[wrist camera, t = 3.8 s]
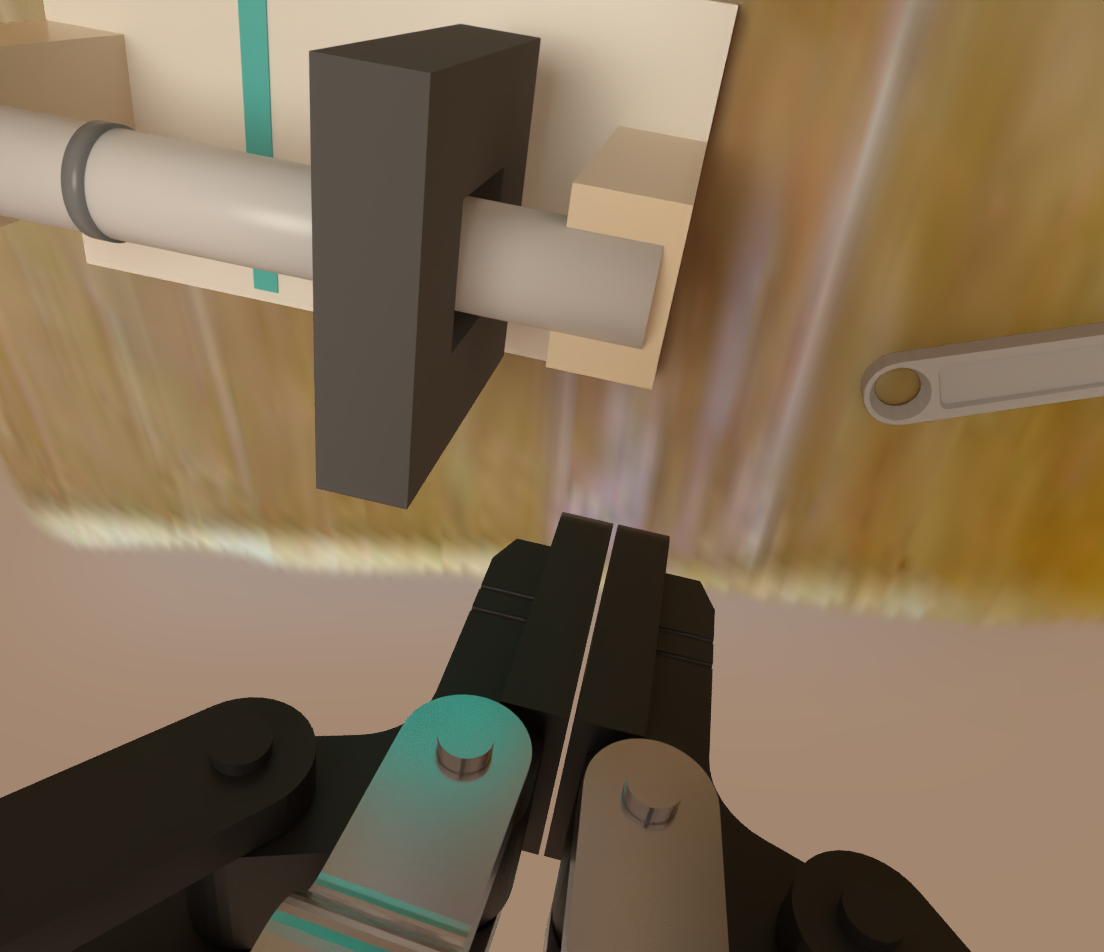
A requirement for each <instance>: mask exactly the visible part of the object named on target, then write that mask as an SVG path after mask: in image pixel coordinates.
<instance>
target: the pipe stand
mask: <svg viewBox="0 0 1104 952" xmlns="http://www.w3.org/2000/svg"><path fill="white" fill-rule="evenodd" d="M43 2H44V8H45V14H46V20H39V21H24V22H10V23H0V226H3V225H6V224H9V223H12V222H15V221H18V220H25V221H30V222H34V223H39V224H44V225H49V226H54V227H58V228H63V229H68V230H73V231H77V232H82V236H83V242H84V248H85V254H86V260H87V263H88V264H93V265H98V266H102V267H107V268H112V269H116V270H121V271H126V272H130V273H135V274H140V275H145V276H149V277H154V278H159V279H163V280H168V281H173V282H177V283H182V284H187V285H191V286H196V287H201V288H206V289H210V290H215V291H220V292H224V293H229V294H234V295H238V296H243V297H248V298H252V299H257V300H262V301H267V302H271V303H276V304H281V305H285V306H290V307H295V308H299V309H304V310H309V311H313V265H312V206H311V147H310V89H309V51H311V50H316V49H322V48H328V47H333V46H339V45H344V44H350V43H356V42H361V41H367V40H372V39H378V38H384V37H389V36H395V35H400V34H406V33H411V32H417V31H423V30H428V29H434V28H439V27H445V26H451V25H456V24H465V25H471V26H476V27H482V28H488V29H493V30H499V31H505V32H510V33H516V34H522V35H527V36H533V37H539V38H541V42H540V51H539V59H538V68H537V76H536V85H535V93H534V102H533V110H532V119H531V128H530V136H529V145H528V153H527V162H526V170H525V179H524V187H523V196H522V204H521V206H516V205H511V204H506V203H501V202H496V201H491V200H486V199H481V198H476V197H471V196H467V197H466V198H465V199H463V211H462V223H461V236H460V249H459V261H458V274H457V286H456V299H455V311H459V312H464V313H469V314H474V315H478V316H483V317H488V318H493V319H498V320H502V321H507V322H508V324H507V333H506V341H505V350H504V352H506V353H511V354H515V355H520V356H525V357H529V358H534V359H539V360H543V361H546V367H548V368H553V369H558V370H562V371H567V372H572V373H576V374H581V375H586V376H590V377H595V378H600V379H605V380H609V381H614V382H619V383H623V384H628V385H633V386H637V387H642V388H647V389H651V390H652V386H653V382H654V378H655V373H656V369H657V364H658V360H659V356H660V351H661V347H662V342H663V338H664V334H665V329H666V325H667V320H668V316H669V312H670V307H671V303H672V298H673V294H674V290H675V285H676V281H677V276H678V272H679V268H680V263H681V259H682V254H683V250H684V246H685V241H686V237H687V232H688V228H689V224H690V219H691V215H692V210H693V206H694V201H695V197H696V192H697V188H698V183H699V178H700V174H701V169H702V165H703V160H704V156H705V151H706V146H707V142H708V137H709V133H710V129H711V124H712V120H713V115H714V111H715V107H716V102H717V98H718V93H719V89H720V84H721V80H722V76H723V71H724V67H725V62H726V58H727V54H728V49H729V45H730V40H731V36H732V32H733V27H734V23H735V18H736V14H737V10H738V5H739V4H736V3H730V2H724V1H719V0H43Z"/></svg>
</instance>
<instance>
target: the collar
mask: <svg viewBox="0 0 1104 952" xmlns="http://www.w3.org/2000/svg"><path fill="white" fill-rule="evenodd" d="M540 42H541V38H539V37H533V36H527V35H522V34H516V33H510V32H505V31H499V30H493V29H488V28H482V27H476V26H471V25H465V24H456V25H451V26H445V27H439V28H434V29H428V30H423V31H417V32H411V33H406V34H400V35H395V36H389V37H384V38H378V39H372V40H367V41H361V42H356V43H350V44H344V45H339V46H333V47H328V48H322V49H316V50H311V51H309V89H310V147H311V206H312V265H313V323H314V382H315V441H316V488H317V489H321V490H326V491H330V492H334V493H339V494H343V495H347V496H351V497H356V498H360V499H364V500H369V501H373V502H377V503H381V504H386V505H390V506H394V507H399V508H403V509H408V507H409V505H410V504H411V502H412V501H413V499H414V497H415V496H416V494H417V493H418V491H419V489H420V488H421V486H422V485H423V483H424V482H425V480H426V478H427V477H428V475H429V474H430V472H431V470H432V469H433V467H434V466H435V464H436V462H437V461H438V459H439V458H440V456H441V454H442V453H443V451H444V450H445V448H446V447H447V445H448V443H449V442H450V440H451V439H452V437H453V435H454V434H455V432H456V431H457V429H458V427H459V426H460V424H461V423H462V421H463V419H464V418H465V416H466V415H467V413H468V412H469V410H470V408H471V407H472V405H473V404H474V402H475V400H476V399H477V397H478V396H479V394H480V392H481V391H482V389H483V388H484V386H485V385H486V383H487V381H488V380H489V378H490V377H491V375H492V373H493V372H494V370H495V369H496V367H497V365H498V364H499V362H500V361H501V359H502V357H503V356H504V350H505V341H506V333H507V324H508V322H507V321H502V320H498V319H493V318H488V317H483V316H478V315H474V314H469V313H464V312H459V311H455V299H456V286H457V274H458V261H459V249H460V236H461V223H462V211H463V199H465V198H466V197H467V196H471V197H476V198H481V199H486V200H491V201H496V202H501V203H506V204H511V205H516V206H521V204H522V196H523V187H524V179H525V170H526V162H527V153H528V145H529V136H530V128H531V119H532V110H533V102H534V93H535V85H536V76H537V68H538V59H539V51H540Z"/></svg>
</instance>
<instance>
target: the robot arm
mask: <svg viewBox="0 0 1104 952" xmlns="http://www.w3.org/2000/svg"><path fill="white" fill-rule="evenodd" d="M612 528H613V523H608V522H604V521H600V520H595V519H591V518H587V517H582V516H578V515H574V514H569V513H565V512H563V513H562V515H561V517H560V520H559V523H558V526H557V530H556V533H555V536H554V539H553V542H552V545H551V547H550V546H546V545H542V544H538V543H533V542H529V541H525V540H521V539H516V540H515V541H513V542H512V543H511V544H510V545H508V546H507V547H506V548H504V549H503V550H502V551H501V552H499V553H498V554H497V555H496V556H494V557H493V558H492V561H491V563H490V565H489V568H488V570H487V572H486V575H485V577H484V580H483V582H482V585H481V589H479V591H478V594H477V596H476V599H475V601H474V603H473V607H472V610H471V611H470V613H469V615H468V617H467V620H466V622H465V625H464V627H463V629H462V632H461V634H460V636H459V639H458V641H457V644H456V646H455V648H454V651H453V653H452V655H451V658H450V660H449V662H448V665H447V667H446V670H445V672H444V675H443V677H442V679H441V682H440V684H439V686H438V689H437V691H436V693H435V695H434V697H433V699H432V700H431V701H430V702H428V703H426V704H424V705H422V706H421V707H420V708H418V709H417V710H415V711H414V712H413V713H412V714H411V715H410V716H409V717H408V718H407V720H406V721H405V723H404V724H402V725H400V726H398V727H396V728H393V729H390V730H387V731H384V732H379V733H374V734H365V735H344V736H315V735H314V732H313V728H312V727H311V725H310V723H309V721H308V720H307V719H306V718H305V717H304V716H303V715H302V713H300V712H299V711H298V710H296V709H295V708H294V707H292V706H290V705H287V704H285V703H283V702H280V701H276V700H273V699H267V698H251V697H249V698H240V699H234V700H230V701H226V702H222V703H220V704H217V705H214V706H212V707H209V708H207V709H205V710H202V711H200V712H198V713H196V714H193V715H191V716H189V717H186V718H184V719H182V720H179V721H177V722H175V723H172V724H170V725H168V726H166V727H163V728H161V729H159V730H156V731H154V732H152V733H149V734H147V735H145V736H142V737H140V738H138V739H136V740H133V741H131V742H129V743H126V744H124V745H122V746H119V747H117V748H115V749H112V750H110V751H108V752H106V753H103V754H101V755H99V756H96V757H94V758H92V759H89V760H87V761H85V762H83V763H80V764H78V765H75V766H73V767H71V768H69V769H66V770H64V771H62V772H59V773H57V774H55V775H53V776H50V777H48V778H46V779H43V780H41V781H39V782H36V783H34V784H32V785H30V786H27V787H25V788H22V789H20V790H18V791H16V792H13V793H11V794H9V795H7V796H4V797H2V798H0V952H488V951H489V948H490V946H491V943H492V940H493V936H494V933H495V930H496V928H497V925H498V921H499V919H500V915H501V911H502V908H503V907H504V905H505V904H506V902H507V900H508V898H509V896H510V893H511V890H512V887H513V883H514V879H515V874H516V870H517V866H518V862H519V858H520V854H521V850H523V851H527V852H530V853H534V854H539V849H540V845H541V841H542V836H543V831H544V827H545V822H546V819H547V814H548V810H549V805H550V801H551V797H552V792H553V788H554V783H555V779H556V775H557V770H558V766H559V761H560V757H561V752H562V748H563V743H564V740H565V735H566V730H567V726H568V722H569V718H570V713H571V709H572V704H573V700H574V695H575V691H576V687H577V683H578V678H579V674H580V669H581V665H582V661H583V656H584V652H585V647H586V643H587V639H588V634H589V630H590V625H591V621H592V617H593V612H594V607H595V603H596V599H597V594H598V590H599V586H600V581H601V577H602V572H603V568H604V563H605V559H606V554H607V550H608V546H609V541H610V537H611V532H612ZM669 539H670V537H669V536H666V535H662V534H657V533H653V532H648V531H644V530H640V529H635V528H631V527H627V526H622V525H618V527H617V532H616V536H615V540H614V545H613V549H612V553H611V558H610V562H609V566H608V571H607V575H606V579H605V584H604V588H603V592H602V597H601V601H600V606H599V611H598V614H597V619H596V623H595V628H594V632H593V636H592V641H591V645H590V650H589V654H588V659H587V664H586V668H585V673H584V677H583V682H582V686H581V691H580V695H579V700H578V704H577V709H576V714H575V718H574V722H573V727H572V732H571V736H570V741H569V745H568V749H567V754H566V758H565V764H564V768H563V772H562V777H561V781H560V786H559V790H558V795H557V799H556V804H555V808H554V813H553V818H552V822H551V826H550V831H549V835H548V840H547V844H546V849H545V854H544V856H547V857H551V858H555V859H558V860H561V863H560V868H559V873H558V878H557V883H556V888H555V893H554V898H553V902H552V906H551V910H550V914H549V918H548V922H547V927H546V932H545V940H544V948H543V952H971V951H970V950H969V949H968V948H967V947H966V945H965V944H964V943H963V942H962V941H961V940H960V938H959V937H958V936H957V935H956V934H955V933H954V932H953V930H952V929H951V928H950V927H949V926H948V924H947V923H946V922H945V921H944V920H943V919H942V917H941V916H940V915H939V914H938V913H937V912H936V911H935V909H934V908H933V907H932V906H931V905H930V904H929V902H928V901H927V900H926V899H925V898H924V897H923V895H922V894H921V893H920V892H919V891H918V890H917V889H916V888H915V887H914V886H913V885H912V884H911V883H910V882H909V881H908V880H907V879H906V878H905V877H903V876H902V875H901V874H900V873H899V872H897V871H895V870H894V869H893V868H891V867H889V866H888V865H886V864H885V863H883V862H881V861H879V860H877V859H874V858H872V857H869V856H866V855H864V854H861V853H856V852H852V851H841V850H836V851H828V852H824V853H821V854H818V855H816V856H814V857H812V858H811V859H809V860H808V861H807V862H806V863H804V862H802V861H800V860H799V859H797V858H795V857H794V856H792V855H790V854H788V853H787V852H785V851H783V850H781V849H780V848H778V847H776V846H774V845H773V844H771V843H769V842H767V841H766V840H764V839H762V838H761V837H759V836H758V835H756V834H755V833H753V832H751V831H750V830H749V829H748V828H747V827H745V826H744V825H743V824H742V823H741V822H740V821H739V820H738V819H737V818H736V817H735V816H734V815H733V814H732V813H731V812H730V811H729V809H728V808H727V807H726V805H725V804H724V803H723V802H722V800H721V798H720V796H719V794H718V793H717V791H716V789H715V786H714V784H713V781H712V778H711V773H710V767H709V750H710V723H711V722H710V721H711V695H712V664H713V639H714V615H715V610H714V608H713V606H712V604H711V602H710V600H709V598H708V596H707V594H706V592H705V590H704V588H703V586H702V584H701V582H700V581H697V580H693V579H688V578H684V577H680V576H675V575H671V574H667V573H666V565H667V557H668V549H669Z"/></svg>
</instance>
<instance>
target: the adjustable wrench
mask: <svg viewBox="0 0 1104 952" xmlns="http://www.w3.org/2000/svg"><path fill="white" fill-rule="evenodd" d="M896 368H909V369H911V370H913V371H914V372H916V374H917V375H918V376H919V378H920V381H921V388H920V391H919V393H918V395H917V396H916V397H915V398H914V399H913V400H911V401H909V402H907V403H905V404H901V405H887V404H884V403H883V402H881V401H880V400H879V399H878V397H877V396H876V393H875V384H876V381H877V379H878V378H879V377H880V376H881V375H882V374H884V373H886V372H887V371H889V370H893V369H896ZM861 391H862V395H863V399H864V402H865V406H866V409H867V410H868V412H869V413H870V414H871V415H872V417H874V418H875V419H877V420H878V421H880V422H882V423H886V424H890V425H906V424H913V423H919V422H926V421H933V420H940V419H947V418H954V417H961V416H968V415H975V414H982V413H989V412H996V411H1003V410H1010V409H1016V408H1023V407H1030V406H1037V405H1044V404H1051V403H1058V402H1065V401H1072V400H1079V399H1086V398H1093V397H1100V396H1104V322H1100V323H1093V324H1086V325H1079V326H1073V327H1066V328H1059V329H1052V330H1045V331H1038V332H1031V333H1025V334H1018V335H1011V336H1004V337H997V338H990V339H983V340H977V341H970V342H963V343H956V344H949V345H942V346H935V347H929V348H922V349H915V350H908V351H901V352H894V353H891V354H888V355H884V356H882V357H880V358H879V359H877V360H876V361H874V362H873V363H872V364H871V365H870V366H869V367H868V368H867V369H866V371H865V373H864V375H863V378H862V382H861Z"/></svg>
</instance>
